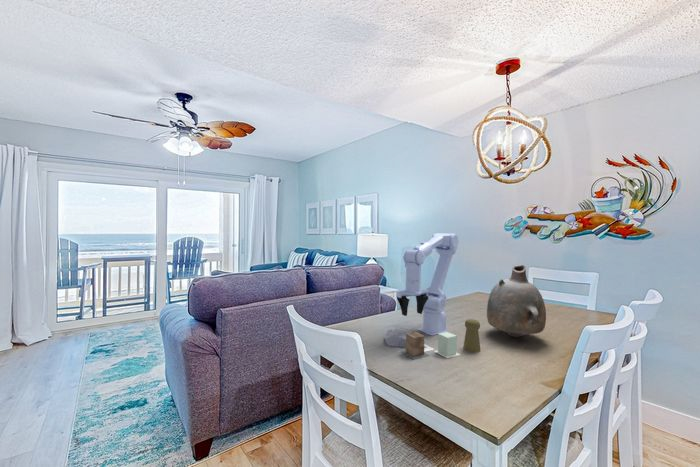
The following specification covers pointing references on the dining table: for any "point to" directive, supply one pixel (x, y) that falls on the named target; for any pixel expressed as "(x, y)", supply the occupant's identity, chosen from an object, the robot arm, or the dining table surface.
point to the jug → (516, 305)
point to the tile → (446, 356)
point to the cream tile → (427, 348)
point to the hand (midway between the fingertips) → (412, 314)
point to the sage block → (447, 343)
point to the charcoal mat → (412, 356)
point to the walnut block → (415, 344)
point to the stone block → (396, 337)
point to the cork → (472, 336)
